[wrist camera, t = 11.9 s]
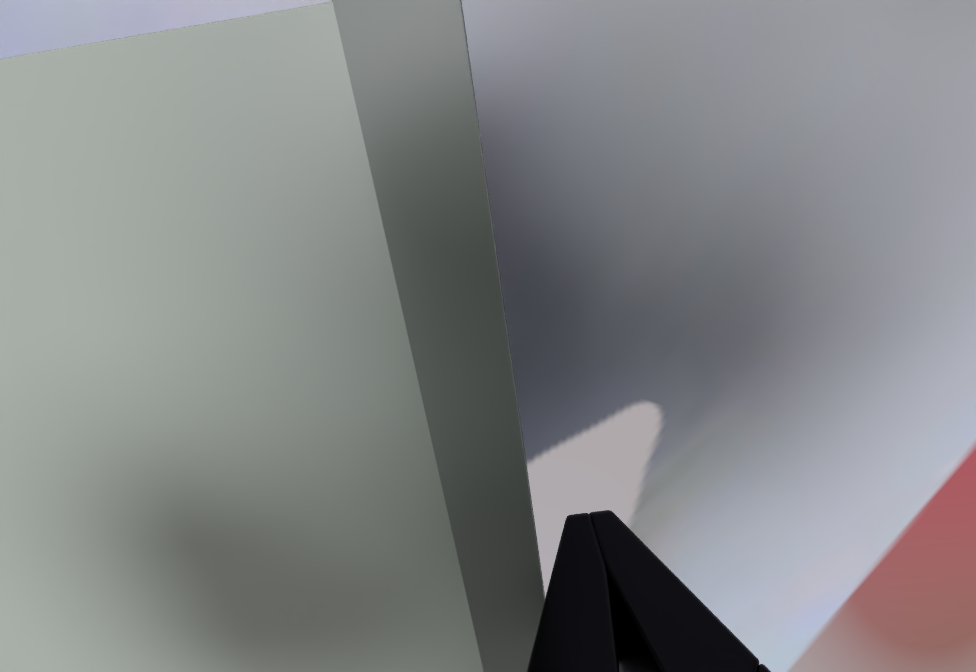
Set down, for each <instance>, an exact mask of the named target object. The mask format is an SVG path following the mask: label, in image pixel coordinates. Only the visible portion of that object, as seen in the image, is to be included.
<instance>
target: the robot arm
mask: <svg viewBox="0 0 976 672" xmlns="http://www.w3.org/2000/svg"><path fill="white" fill-rule="evenodd" d="M527 672H771V671H770V670H769V669H768V668H767V667H766V666H765V665H763V664H760V665H759V660H758V659H757V658H756V657H755V656H754V655H753V654H752V652H751V651H750V650H749V649H748V648H747V647H746V646H745V645H744V644H743V643H742V642H741V641H740V640H739V639H738V638H737V637H736V636H735V635H734V634H733V633H732V632H731V631H730V630H729V629H728V628H727V627H726V626H725V625H724V624H723V623H722V622H721V621H720V620H719V619H718V618H717V617H716V616H715V615H714V614H713V613H712V612H711V611H710V610H709V609H708V608H707V607H706V606H705V605H704V604H703V603H702V602H701V601H700V600H699V599H698V598H697V597H696V596H695V595H694V594H693V593H692V592H691V591H690V590H689V589H688V588H687V587H686V586H685V585H684V584H683V583H682V582H681V581H680V580H679V579H678V578H677V577H676V576H675V575H674V574H673V573H672V572H671V571H670V570H669V569H668V568H667V566H666V565H665V564H664V563H663V562H662V561H661V560H660V559H659V558H658V557H657V556H656V555H655V554H654V553H653V552H652V551H651V550H650V549H649V548H648V547H647V546H646V545H645V544H644V543H643V542H642V541H641V540H640V539H639V538H638V537H637V536H636V535H635V534H634V533H633V532H632V531H631V530H630V529H629V528H628V527H627V526H626V525H625V524H624V523H623V522H622V521H621V520H620V519H619V518H618V517H617V516H616V515H615V514H614V513H613V512H612V511H609V510H607V511H598V512H591V513H590V514H588V513H582V514H574V515H569V516H567V518H566V521H565V524H564V529H563V532H562V536H561V540H560V544H559V548H558V552H557V555H556V560H555V563H554V568H553V571H552V575H551V579H550V583H549V587H548V591H547V594H546V598H545V602H544V606H543V610H542V614H541V618H540V622H539V625H538V629H537V633H536V637H535V641H534V645H533V649H532V653H531V656H530V660H529V664H528V668H527Z"/></svg>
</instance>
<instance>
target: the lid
mask: <svg viewBox="0 0 976 672" xmlns="http://www.w3.org/2000/svg"><path fill="white" fill-rule="evenodd" d="M544 602H545V594H544V586H543V579H542V572H541V565H540V557H539V551H538V544H537V536H536V529H535V522H534V515H533V508H532V501H531V494H530V487H529V480H528V472H527V465H526V458H525V451H524V443H523V436H522V429H521V422H520V415H519V408H518V401H517V394H516V386H515V379H514V372H513V365H512V358H511V351H510V344H509V337H508V329H507V322H506V315H505V308H504V301H503V294H502V287H501V280H500V272H499V265H498V258H497V251H496V244H495V237H494V230H493V223H492V215H491V208H490V201H489V194H488V187H487V180H486V173H485V165H484V158H483V151H482V144H481V137H480V130H479V123H478V116H477V108H476V101H475V94H474V87H473V80H472V73H471V66H470V59H469V51H468V44H467V37H466V30H465V23H464V16H463V9H462V2H461V0H332V2H329V3H323V4H317V5H311V6H305V7H300V8H294V9H288V10H282V11H276V12H271V13H265V14H259V15H253V16H247V17H241V18H236V19H230V20H224V21H218V22H212V23H207V24H201V25H195V26H189V27H183V28H177V29H172V30H166V31H160V32H154V33H148V34H143V35H137V36H131V37H125V38H119V39H113V40H108V41H102V42H96V43H90V44H84V45H79V46H73V47H67V48H61V49H55V50H49V51H44V52H38V53H32V54H26V55H20V56H14V57H9V58H3V59H0V672H527V668H528V664H529V660H530V656H531V653H532V649H533V645H534V641H535V637H536V633H537V629H538V625H539V622H540V618H541V614H542V610H543V606H544Z"/></svg>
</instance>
